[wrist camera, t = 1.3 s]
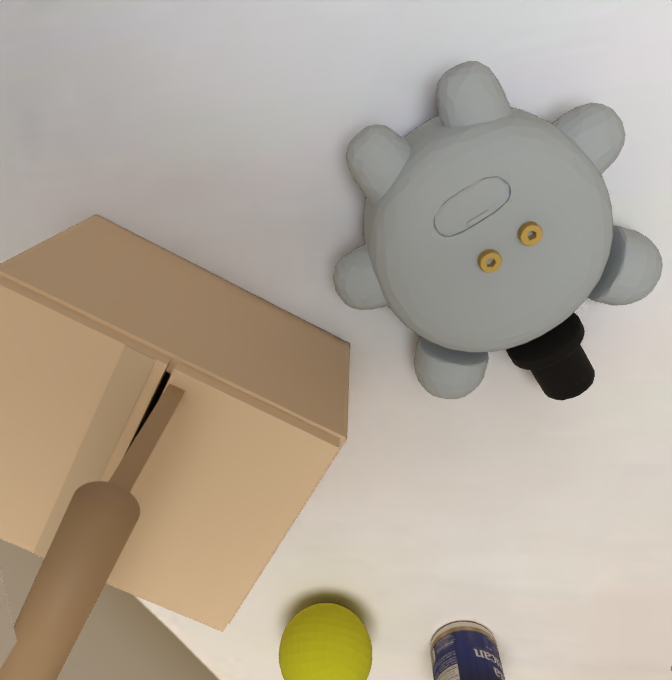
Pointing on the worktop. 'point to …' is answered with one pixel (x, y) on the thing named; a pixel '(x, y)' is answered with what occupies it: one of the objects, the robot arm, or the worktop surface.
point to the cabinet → (131, 362)
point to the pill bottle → (465, 653)
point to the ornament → (325, 645)
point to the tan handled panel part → (174, 517)
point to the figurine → (493, 235)
